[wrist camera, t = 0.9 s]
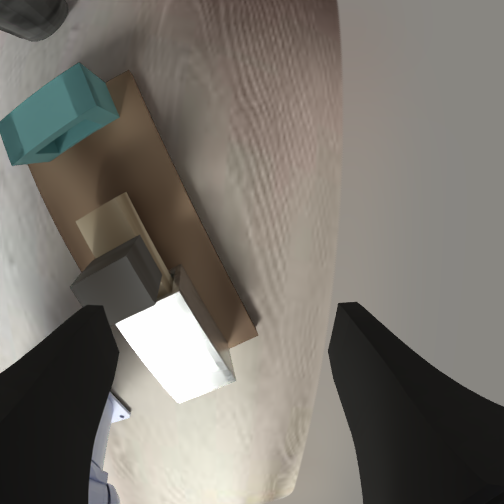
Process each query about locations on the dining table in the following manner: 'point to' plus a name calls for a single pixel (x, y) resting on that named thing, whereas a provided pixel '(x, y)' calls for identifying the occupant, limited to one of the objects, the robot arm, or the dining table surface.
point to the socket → (57, 117)
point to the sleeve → (180, 342)
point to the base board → (140, 202)
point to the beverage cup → (32, 17)
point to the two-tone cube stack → (120, 262)
